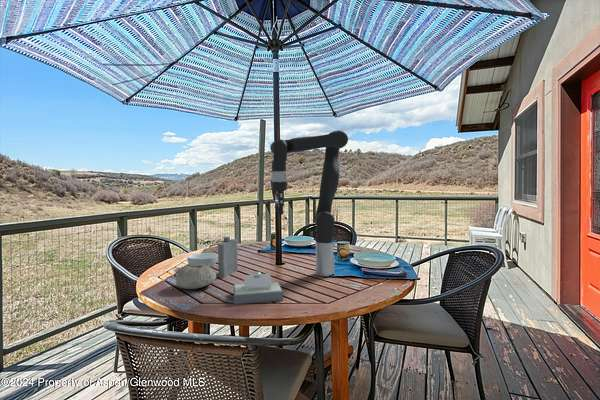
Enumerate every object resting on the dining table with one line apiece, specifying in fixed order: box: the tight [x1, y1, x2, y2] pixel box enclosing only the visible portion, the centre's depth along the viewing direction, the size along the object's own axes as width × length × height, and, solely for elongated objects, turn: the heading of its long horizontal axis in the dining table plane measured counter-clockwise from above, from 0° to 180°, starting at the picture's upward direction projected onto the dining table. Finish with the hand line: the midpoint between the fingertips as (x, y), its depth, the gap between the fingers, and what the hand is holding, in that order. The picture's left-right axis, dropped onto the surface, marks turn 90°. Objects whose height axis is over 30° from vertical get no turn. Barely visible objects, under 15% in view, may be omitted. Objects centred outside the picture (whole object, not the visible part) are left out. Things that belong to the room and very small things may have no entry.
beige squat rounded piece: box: [175, 265, 217, 290], centre depth 156 cm, size 18×18×10 cm
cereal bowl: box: [187, 252, 218, 268], centre depth 190 cm, size 17×17×7 cm
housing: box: [243, 271, 272, 291], centre depth 141 cm, size 7×11×6 cm, turn 101°
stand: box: [233, 281, 284, 305], centre depth 142 cm, size 20×13×4 cm, turn 102°
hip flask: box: [217, 236, 239, 279], centre depth 176 cm, size 16×4×20 cm, turn 161°
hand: (279, 213), depth 164 cm, fingers open, 8 cm apart
